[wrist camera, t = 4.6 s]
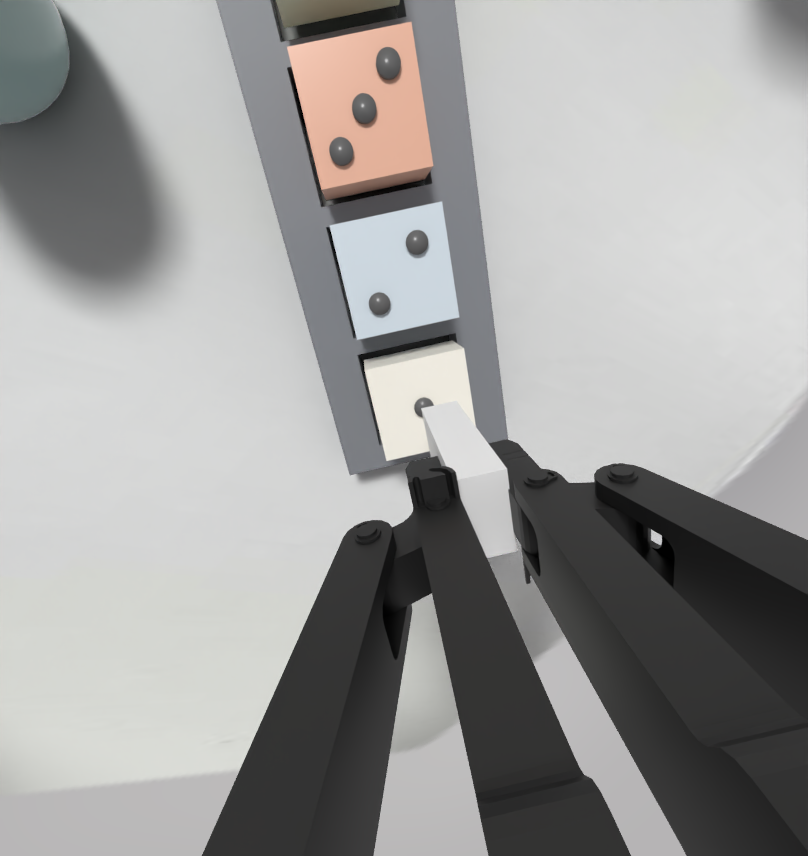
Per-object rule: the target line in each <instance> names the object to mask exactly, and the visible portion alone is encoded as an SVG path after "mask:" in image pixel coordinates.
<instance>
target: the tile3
mask: <svg viewBox="0 0 808 856" xmlns="http://www.w3.org/2000/svg"><path fill="white" fill-rule="evenodd" d="M287 49H288V54H289V58H290V62H291V66H292V70H293V74H294V78H295V83H296V87H297V91H298V95H299V99H300V103H301V107H302V112H303V116H304V120H305V124H306V128H307V132H308V136H309V140H310V145H311V149H312V153H313V157H314V161H315V165H316V169H317V174H318V178H319V182H320V186H321V190H322V192H323V195H324V197H325V199H326V201H327V200H331V199H336V198H341V197H346V196H350V195H355V194H360V193H364V192H369V191H374V190H378V189H383V188H388V187H392V186H397V185H402V184H407V183H411V182H416V181H421V180H425V178H426V176H427V175H428V173H429V172H430V170H431V169H432V167H433V160H432V153H431V147H430V140H429V134H428V127H427V121H426V114H425V107H424V101H423V94H422V88H421V81H420V75H419V68H418V62H417V55H416V49H415V42H414V36H413V29H412V22H407V23H402V24H397V25H392V26H387V27H382V28H377V29H372V30H368V31H363V32H358V33H353V34H348V35H343V36H338V37H333V38H328V39H323V40H318V41H314V42H309V43H304V44H299V45H294V46H289V47H287Z"/></svg>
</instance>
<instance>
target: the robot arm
mask: <svg viewBox="0 0 808 856" xmlns="http://www.w3.org/2000/svg"><path fill="white" fill-rule="evenodd" d="M421 410H422V415H423V420H424V425H425V430H426V435H427V440H428V445H429V450H430V455H431V457H430V458H426V459H421V460H417V461H413V462H410V463H409V465H408V467H407V468H406V474H407V478H408V486H409V490H410V494H411V499H412V503H413V512H412V514H411V515H410V517H409V518H408V519H407V520H405V521H404V522H402V523H401V524H399V525H397V526H395V527H391V526H390V524H389V523H387V522H384V521H382V520H371V521H365V522H362V523H360V524H358V525H356V526H354V527H353V528H351V529H350V530H349V531H348V532H347V533H346V534H345V536H344V537H343V540H342V542H341V544H340V546H339V549H338V551H337V553H336V555H335V558H334V560H333V562H332V564H331V567H330V569H329V571H328V573H327V576H326V578H325V580H324V582H323V585H322V587H321V589H320V591H319V594H318V596H317V598H316V600H315V603H314V605H313V607H312V609H311V612H310V614H309V616H308V618H307V621H306V623H305V625H304V627H303V630H302V632H301V634H300V636H299V639H298V641H297V643H296V645H295V648H294V650H293V652H292V654H291V657H290V659H289V661H288V663H287V665H286V668H285V670H284V672H283V674H282V677H281V679H280V681H279V683H278V686H277V688H276V690H275V692H274V695H273V697H272V699H271V701H270V704H269V706H268V708H267V710H266V713H265V715H264V717H263V719H262V722H261V724H260V726H259V728H258V731H257V733H256V735H255V737H254V740H253V742H252V744H251V746H250V749H249V751H248V753H247V755H246V758H245V760H244V762H243V764H242V767H241V769H240V771H239V773H238V776H237V778H236V781H235V782H234V785H233V787H232V789H231V791H230V794H229V796H228V798H227V801H226V803H225V805H224V807H223V809H222V812H221V814H220V816H219V819H218V821H217V823H216V825H215V827H214V830H213V832H212V834H211V836H210V839H209V841H208V843H207V846H206V848H205V850H204V852H203V854H202V856H373V854H374V848H375V842H376V835H377V829H378V823H379V817H380V811H381V804H382V798H383V791H384V785H385V778H386V773H387V766H388V760H389V754H390V748H391V741H392V735H393V729H394V723H395V716H396V710H397V704H398V697H399V691H400V685H401V679H402V672H403V666H404V660H405V653H406V647H407V641H408V635H409V628H410V622H411V616H412V605H411V604H412V603H414V602H416V601H418V600H420V599H421V598H423V597H425V596H427V595H429V594H431V593H432V595H433V600H434V604H435V609H436V614H437V618H438V623H439V627H440V632H441V637H442V641H443V646H444V650H445V655H446V660H447V664H448V669H449V673H450V678H451V683H452V687H453V692H454V696H455V701H456V706H457V710H458V715H459V719H460V724H461V729H462V733H463V738H464V743H465V747H466V752H467V756H468V761H469V766H470V770H471V775H472V779H473V784H474V789H475V793H476V798H477V803H478V808H479V812H480V818H481V822H482V827H483V832H484V836H485V841H486V846H487V850H488V855H489V856H631V855H630V853H629V850H628V848H627V846H626V844H625V842H624V840H623V837H622V835H621V833H620V831H619V829H618V827H617V824H616V822H615V820H614V818H613V816H612V814H611V812H610V810H609V808H608V806H607V804H606V802H605V800H604V798H603V796H602V794H601V792H600V790H599V789H598V787H597V786H596V784H595V783H594V781H593V780H592V779H591V778H589V777H587V776H585V775H584V774H583V773H582V771H581V769H580V768H579V766H578V763H577V761H576V759H575V757H574V755H573V753H572V750H571V748H570V746H569V743H568V741H567V739H566V737H565V734H564V732H563V730H562V728H561V726H560V723H559V721H558V719H557V716H556V714H555V712H554V709H553V707H552V705H551V703H550V700H549V698H548V696H547V694H546V691H545V689H544V687H543V684H542V682H541V680H540V678H539V675H538V673H537V671H536V669H535V666H534V664H533V662H532V659H531V657H530V655H529V653H528V650H527V648H526V646H525V644H524V641H523V639H522V637H521V634H520V632H519V630H518V628H517V625H516V623H515V621H514V619H513V616H512V614H511V612H510V610H509V607H508V605H507V603H506V600H505V598H504V596H503V594H502V591H501V589H500V587H499V585H498V582H497V580H496V578H495V575H494V573H493V571H492V569H491V566H490V564H489V562H488V560H487V558H490V557H494V556H499V555H503V554H508V553H512V552H516V551H517V543H516V537H517V539H518V541H519V542H520V544H521V547H522V555H523V563H524V571H525V579H526V583H527V584H529V583H530V575H531V576H532V578H533V579H534V581H535V583H536V585H537V587H538V588H539V590H540V592H541V594H542V596H543V597H544V599H545V601H546V603H547V605H548V606H549V608H550V610H551V612H552V614H553V615H554V617H555V619H556V621H557V623H558V624H559V626H560V628H561V630H562V632H563V633H564V635H565V637H566V639H567V641H568V642H569V644H570V646H571V648H572V650H573V651H574V653H575V655H576V657H577V659H578V660H579V662H580V664H581V666H582V668H583V669H584V671H585V673H586V675H587V676H588V678H589V680H590V682H591V683H592V686H593V687H594V689H595V691H596V692H597V694H598V696H599V698H600V700H601V702H602V703H603V705H604V707H605V709H606V711H607V713H608V714H609V716H610V718H611V720H612V721H613V723H614V725H615V727H616V729H617V731H618V732H619V734H620V736H621V738H622V740H623V741H624V743H625V745H626V747H627V748H628V750H629V752H630V754H631V756H632V757H633V759H634V761H635V763H636V765H637V767H638V768H639V770H640V772H641V774H642V776H643V777H644V779H645V781H646V783H647V785H648V786H649V788H650V790H651V792H652V793H653V795H654V797H655V799H656V801H657V802H658V804H659V806H660V808H661V810H662V811H663V813H664V815H665V817H666V819H667V821H668V822H669V824H670V826H671V828H672V829H673V831H674V833H675V835H676V837H677V839H678V840H679V842H680V844H681V846H682V848H683V850H684V852H685V854H686V855H687V856H808V540H806V539H804V538H802V537H799V536H797V535H795V534H792V533H790V532H788V531H786V530H783V529H781V528H779V527H777V526H774V525H772V524H770V523H767V522H765V521H763V520H760V519H758V518H756V517H753V516H751V515H749V514H747V513H744V512H742V511H740V510H738V509H735V508H733V507H731V506H728V505H726V504H724V503H722V502H719V501H717V500H715V499H712V498H710V497H708V496H706V495H703V494H701V493H699V492H696V491H694V490H692V489H689V488H687V487H685V486H683V485H680V484H678V483H676V482H673V481H671V480H669V479H667V478H664V477H662V476H660V475H657V474H655V473H653V472H651V471H648V470H646V469H644V468H641V467H638V466H634V465H628V464H623V463H619V464H611V465H608V466H604V467H602V468H600V469H598V470H597V471H596V473H595V474H594V479H595V482H592V483H568V482H567V481H566V480H565V479H564V478H563V477H562V476H561V475H560V474H558V473H557V472H555V471H551V470H548V469H541V468H540V467H539V466H538V465H537V464H536V463H535V462H534V461H533V459H532V458H531V457H530V456H528V454H527V453H526V452H525V451H524V450H523V449H522V448H521V447H520V445H519V444H518V443H515V442H513V441H510V440H508V439H506V440H501V441H497V442H492V443H488V442H487V441H486V440H485V438H484V437H483V436H482V434H481V433H480V432H479V430H478V429H477V428H476V426H475V425H474V424H473V422H472V421H471V420H470V418H469V417H468V416H467V414H466V413H465V412H464V410H463V409H462V408H461V406H460V405H459V404H458V402H457V401H452V402H448V403H443V404H439V405H434V406H430V407H425V408H421ZM651 529H652V530H653V531H655V532H657V533H659V534H660V535H662V545H658V544H656V543H655V542H653V541H651Z"/></svg>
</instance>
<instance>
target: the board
mask: <svg viewBox="0 0 808 856" xmlns="http://www.w3.org/2000/svg"><path fill="white" fill-rule="evenodd" d="M216 2H217V5H218V9H219V12H220V16H221V19H222V23H223V27H224V30H225V34H226V37H227V41H228V44H229V48H230V51H231V55H232V59H233V62H234V66H235V69H236V73H237V76H238V80H239V83H240V87H241V91H242V94H243V98H244V101H245V105H246V108H247V112H248V115H249V119H250V122H251V126H252V130H253V133H254V137H255V140H256V144H257V147H258V151H259V154H260V158H261V162H262V165H263V169H264V172H265V176H266V179H267V183H268V186H269V190H270V193H271V197H272V201H273V204H274V208H275V211H276V215H277V218H278V222H279V225H280V229H281V233H282V236H283V240H284V243H285V247H286V250H287V254H288V257H289V261H290V264H291V268H292V272H293V275H294V279H295V282H296V286H297V289H298V293H299V296H300V300H301V304H302V307H303V311H304V314H305V318H306V321H307V325H308V328H309V332H310V335H311V339H312V343H313V346H314V350H315V353H316V357H317V360H318V364H319V367H320V371H321V375H322V378H323V382H324V385H325V389H326V392H327V396H328V399H329V403H330V406H331V410H332V414H333V417H334V421H335V424H336V428H337V431H338V435H339V438H340V442H341V446H342V449H343V453H344V456H345V460H346V463H347V467H348V470H349V474H350V475H353V474H357V473H361V472H366V471H370V470H374V469H379V468H383V467H388V466H392V465H396V464H401V463H405V462H409V461H414V460H418V459H422V458H427V457H431V455H430V451H428V452H424V453H420V454H415V455H411V456H407V457H402V458H398V459H393V460H389V461H386V457H385V453H384V449H383V444H382V440H381V436H380V433H378V430H377V426H376V422H375V418H374V414H373V410H372V406H371V402H370V397H369V393H368V389H367V385H366V381H365V377H364V373H363V369H362V365H361V361H360V356H359V354H364V353H368V352H373V351H377V350H382V349H386V348H391V347H395V346H400V345H404V344H409V343H413V342H418V341H422V340H427V339H431V338H436V337H440V336H445V335H449V339H450V341H452V340H453V341H454V342H456V343H457V344H459V345H460V346H462V347H463V348H464V351H465V358H466V364H467V371H468V378H469V384H470V391H471V397H472V404H473V411H474V417H475V424H476V428H477V429H478V430H479V432H480V433H481V434H482V436H483V437H484V438H485V440H486V441H487V442H488V443H492V442H496V441H501V440H505V439H508V435H507V427H506V418H505V410H504V402H503V394H502V385H501V377H500V369H499V361H498V353H497V344H496V336H495V328H494V320H493V311H492V303H491V295H490V287H489V279H488V270H487V262H486V254H485V246H484V237H483V229H482V221H481V213H480V205H479V196H478V188H477V180H476V172H475V164H474V155H473V147H472V139H471V131H470V122H469V114H468V106H467V98H466V90H465V81H464V73H463V65H462V57H461V48H460V40H459V32H458V24H457V16H456V7H455V0H400V2H399V5H396V11H397V17H398V18H397V19H392V20H387V21H382V22H377V23H372V24H367V25H362V26H358V27H353V28H348V29H343V30H338V31H333V32H328V33H323V34H318V35H313V36H308V37H303V38H298V39H294V40H289V41H284V42H283V40H282V36H281V32H280V28H279V24H278V20H277V16H276V12H275V8H274V4H273V0H216ZM407 22H412V29H413V36H414V42H415V49H416V55H417V62H418V68H419V75H420V81H421V88H422V94H423V101H424V107H425V114H426V121H427V127H428V134H429V140H430V147H431V153H432V160H433V167H432V169H431V170H430V172H429V173H428V175H427V176H426V178H425V180H424V184H425V185H424V186H419V187H414V188H410V189H405V190H400V191H396V192H391V193H386V194H382V195H377V196H372V197H368V198H363V199H358V200H354V201H349V202H344V203H340V204H335V205H330V206H325V207H323V205H322V201H321V196H320V192H319V188H318V184H317V180H316V176H315V172H314V168H313V164H312V159H311V155H310V151H309V147H308V143H307V139H306V135H305V131H304V127H303V123H302V118H301V114H300V110H299V106H298V102H297V98H296V94H295V90H294V89H296V88H297V87H296V83H295V78H294V74H293V70H292V66H291V62H290V58H289V54H288V49H287V47H289V46H294V45H299V44H304V43H309V42H314V41H318V40H323V39H328V38H333V37H338V36H343V35H348V34H353V33H358V32H363V31H368V30H372V29H377V28H382V27H387V26H392V25H397V24H402V23H407ZM441 201H442V205H443V211H444V218H445V225H446V231H447V238H448V245H449V251H450V258H451V265H452V271H453V278H454V284H455V291H456V298H457V304H458V311H459V318H454V319H450V320H445V321H441V322H436V323H432V324H427V325H423V326H418V327H413V328H409V329H404V330H400V331H395V332H391V333H386V334H382V335H377V336H373V337H368V338H364V339H359V340H357V337H356V333H355V334H354V332H353V328H352V324H351V320H350V315H349V311H348V307H347V303H346V299H345V295H344V291H343V287H342V283H341V278H340V274H339V270H338V266H337V262H336V258H335V254H334V250H333V246H332V242H331V237H330V233H329V232H331V230H330V225H334V224H339V223H344V222H348V221H353V220H358V219H362V218H367V217H372V216H376V215H381V214H386V213H390V212H395V211H400V210H404V209H409V208H413V207H418V206H423V205H427V204H432V203H437V202H441Z"/></svg>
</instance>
